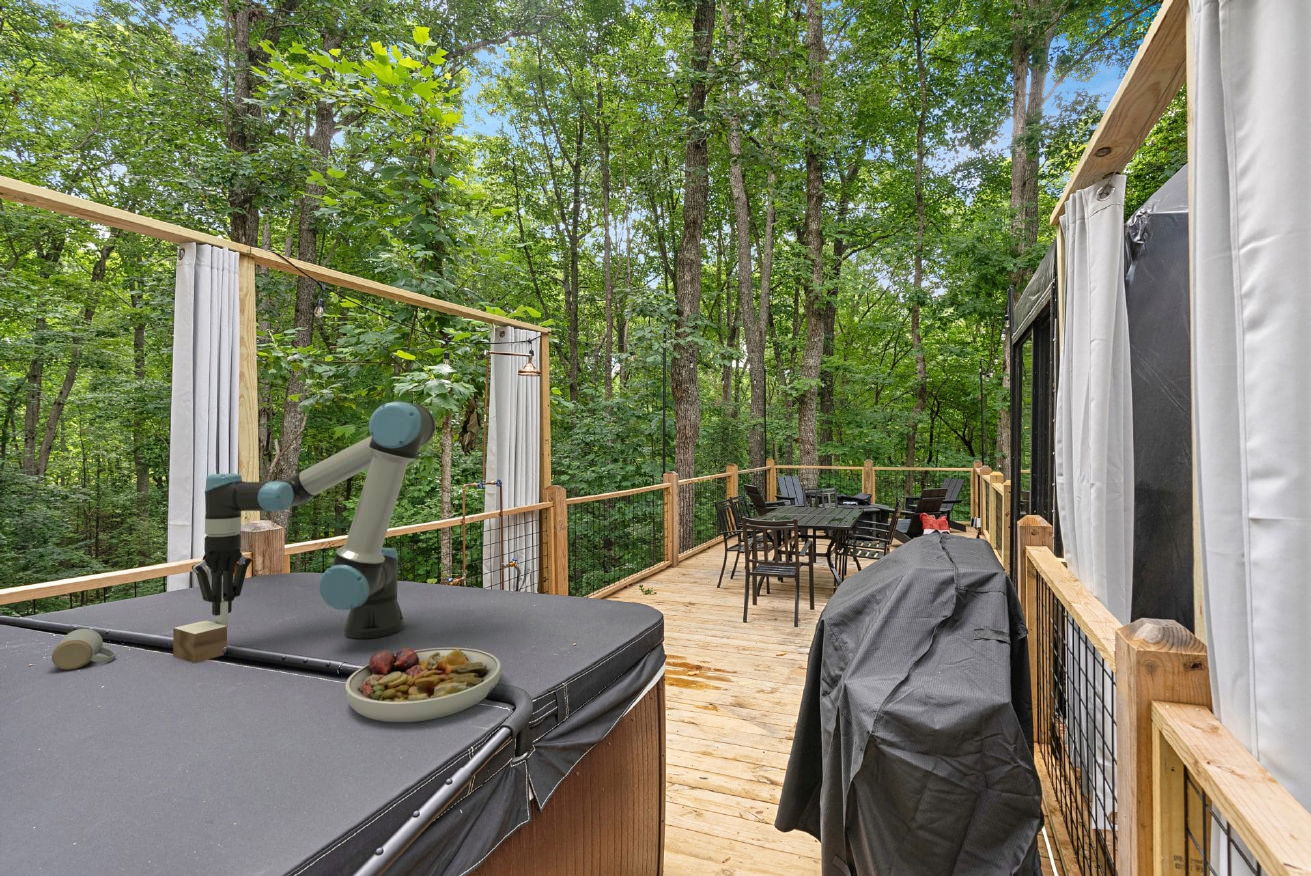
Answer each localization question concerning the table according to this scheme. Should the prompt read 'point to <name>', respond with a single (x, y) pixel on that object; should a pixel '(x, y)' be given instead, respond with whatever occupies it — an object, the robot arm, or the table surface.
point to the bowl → (421, 683)
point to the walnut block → (199, 641)
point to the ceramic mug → (81, 650)
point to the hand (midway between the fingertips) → (221, 626)
